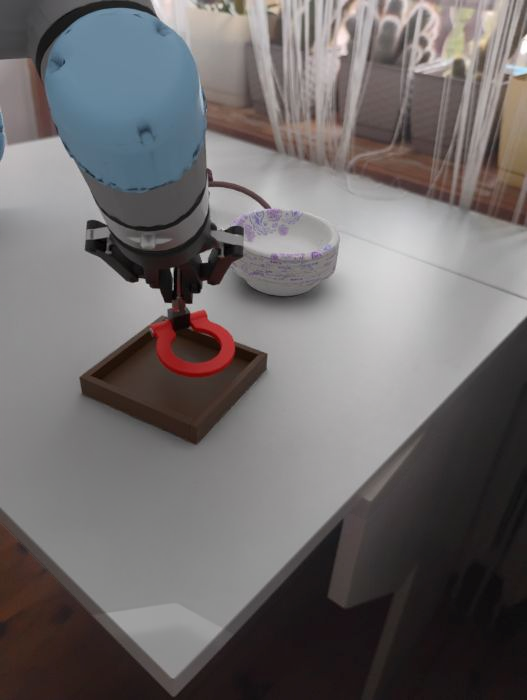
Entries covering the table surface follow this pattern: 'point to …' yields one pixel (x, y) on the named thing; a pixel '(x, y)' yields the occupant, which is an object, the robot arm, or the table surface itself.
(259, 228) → the paper bowls
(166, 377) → the tray
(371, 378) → the table surface
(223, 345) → the tow hook
